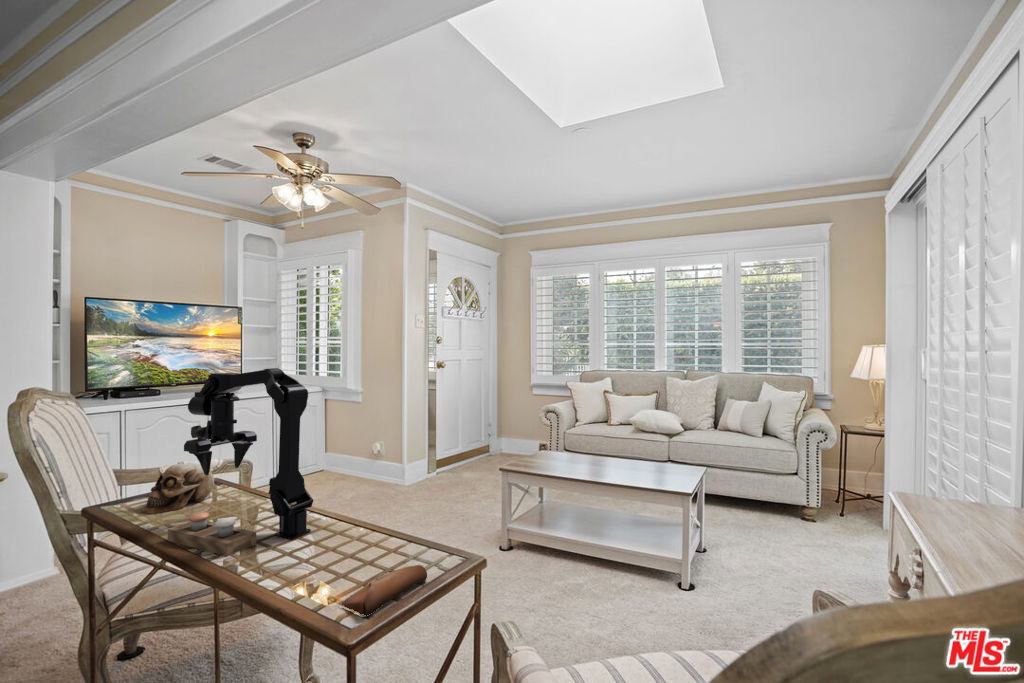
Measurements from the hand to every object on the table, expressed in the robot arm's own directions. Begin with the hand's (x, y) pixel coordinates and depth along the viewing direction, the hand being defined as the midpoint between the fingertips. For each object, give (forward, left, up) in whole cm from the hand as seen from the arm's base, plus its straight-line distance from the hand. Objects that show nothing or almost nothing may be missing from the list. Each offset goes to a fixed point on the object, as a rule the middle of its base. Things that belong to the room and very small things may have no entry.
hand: (222, 471), depth 144 cm
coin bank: (+25, -4, -14) cm, 29 cm away
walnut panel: (-12, +12, -14) cm, 22 cm away
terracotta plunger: (-7, +12, -11) cm, 18 cm away
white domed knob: (-17, +12, -11) cm, 24 cm away
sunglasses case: (-68, +15, -15) cm, 71 cm away
